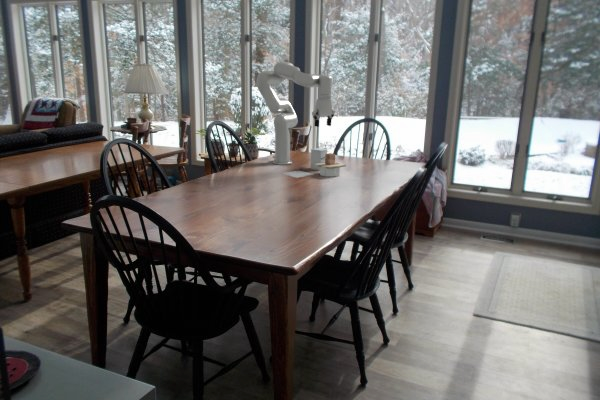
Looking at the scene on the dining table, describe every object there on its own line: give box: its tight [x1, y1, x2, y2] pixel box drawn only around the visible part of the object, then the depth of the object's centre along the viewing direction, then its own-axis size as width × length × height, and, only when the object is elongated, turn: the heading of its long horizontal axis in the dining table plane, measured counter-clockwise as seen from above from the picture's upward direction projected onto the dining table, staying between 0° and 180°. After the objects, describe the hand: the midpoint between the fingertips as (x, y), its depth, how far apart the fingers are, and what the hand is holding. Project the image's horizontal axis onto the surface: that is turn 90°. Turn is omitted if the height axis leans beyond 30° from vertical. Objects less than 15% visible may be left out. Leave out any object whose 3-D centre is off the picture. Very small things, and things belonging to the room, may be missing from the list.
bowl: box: [319, 167, 341, 178], centre depth 288 cm, size 11×11×6 cm
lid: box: [314, 152, 347, 169], centre depth 287 cm, size 13×13×7 cm
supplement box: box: [310, 147, 328, 171], centre depth 303 cm, size 7×7×13 cm
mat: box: [280, 170, 315, 179], centre depth 289 cm, size 14×14×1 cm
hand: (322, 126), depth 298 cm, fingers open, 9 cm apart
